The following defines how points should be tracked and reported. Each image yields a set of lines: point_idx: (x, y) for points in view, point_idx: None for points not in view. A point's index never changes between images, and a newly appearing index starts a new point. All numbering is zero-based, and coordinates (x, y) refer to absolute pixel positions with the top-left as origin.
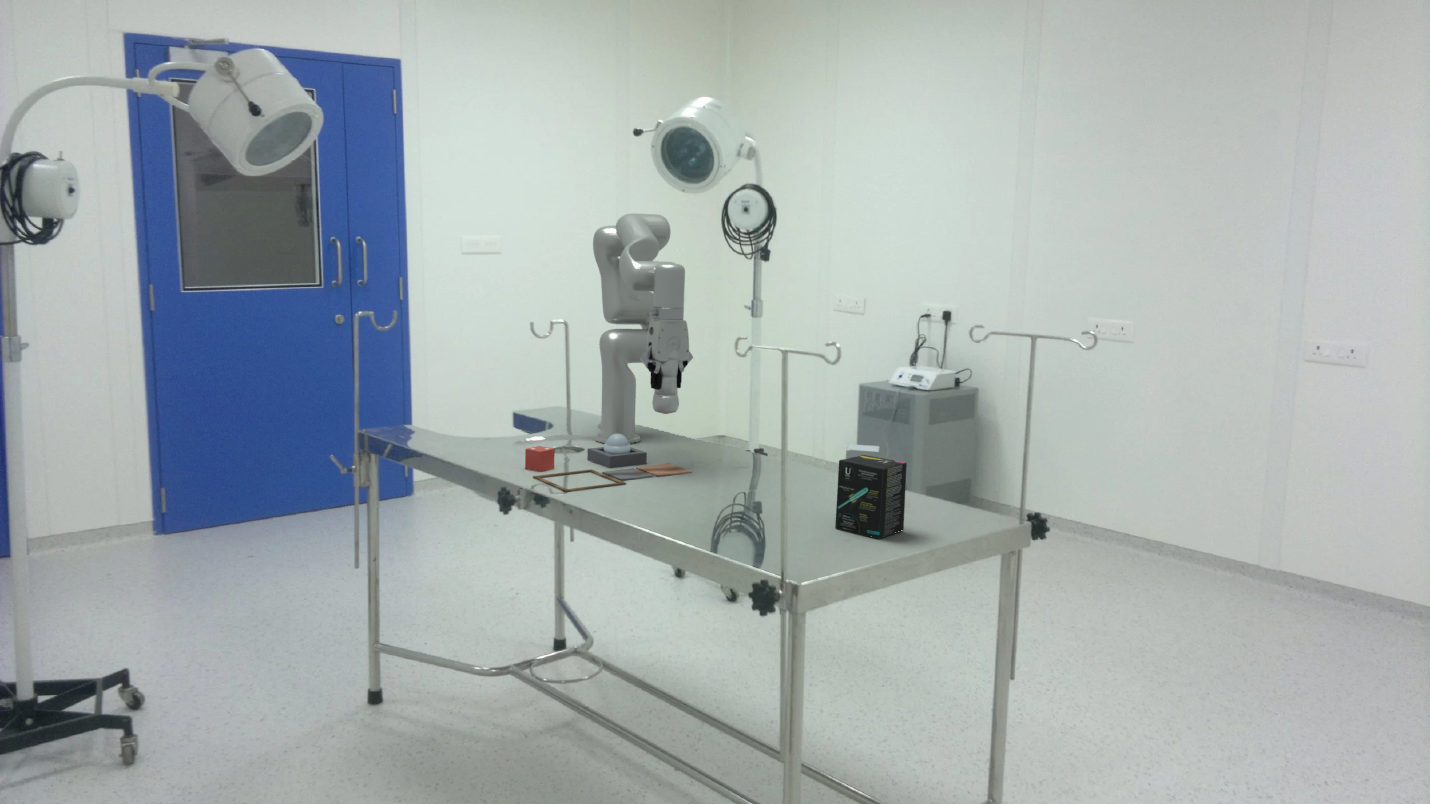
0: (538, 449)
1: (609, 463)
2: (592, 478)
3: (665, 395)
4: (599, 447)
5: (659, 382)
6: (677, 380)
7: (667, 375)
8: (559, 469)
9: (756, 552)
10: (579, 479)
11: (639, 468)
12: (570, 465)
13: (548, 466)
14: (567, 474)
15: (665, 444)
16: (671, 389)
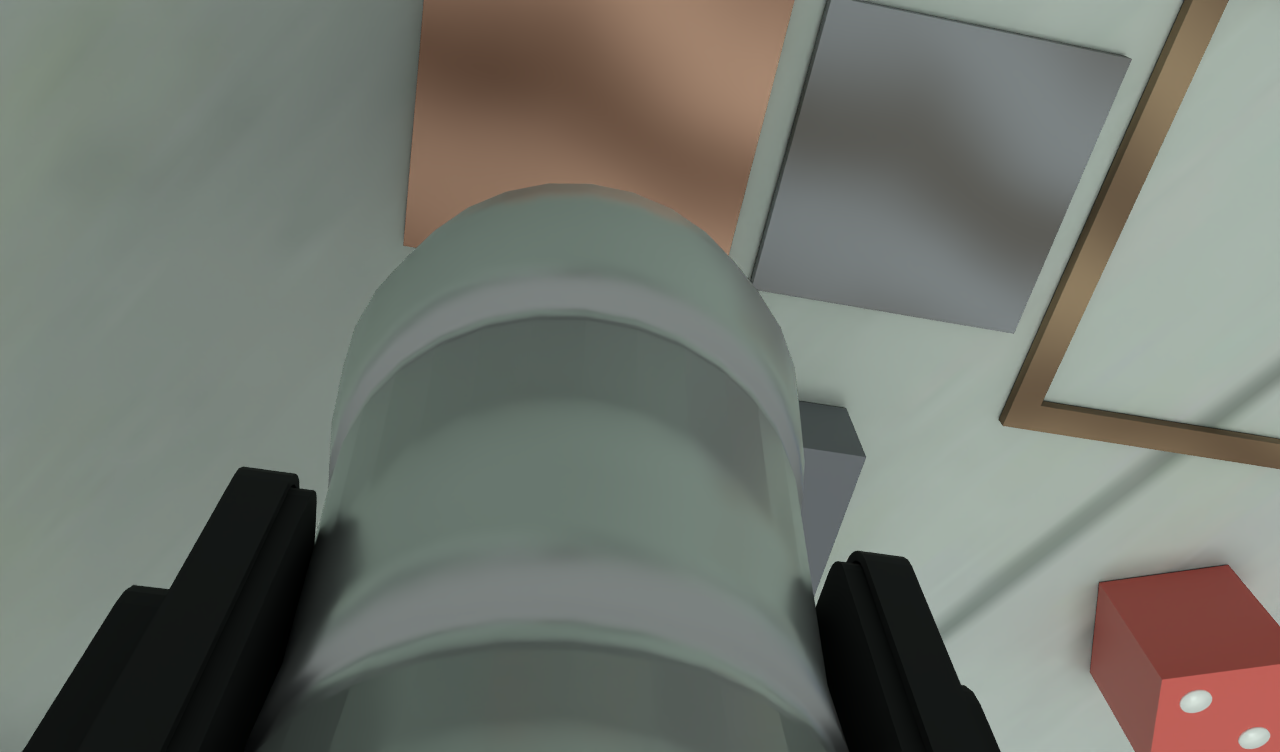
0: (1249, 710)
1: (853, 429)
2: (1183, 258)
3: (745, 392)
4: None
5: (924, 663)
6: (263, 641)
7: (785, 744)
8: (1094, 553)
9: None
10: (1265, 289)
11: (726, 252)
12: (958, 591)
13: (1163, 590)
14: (1198, 428)
15: (9, 692)
16: (637, 405)
